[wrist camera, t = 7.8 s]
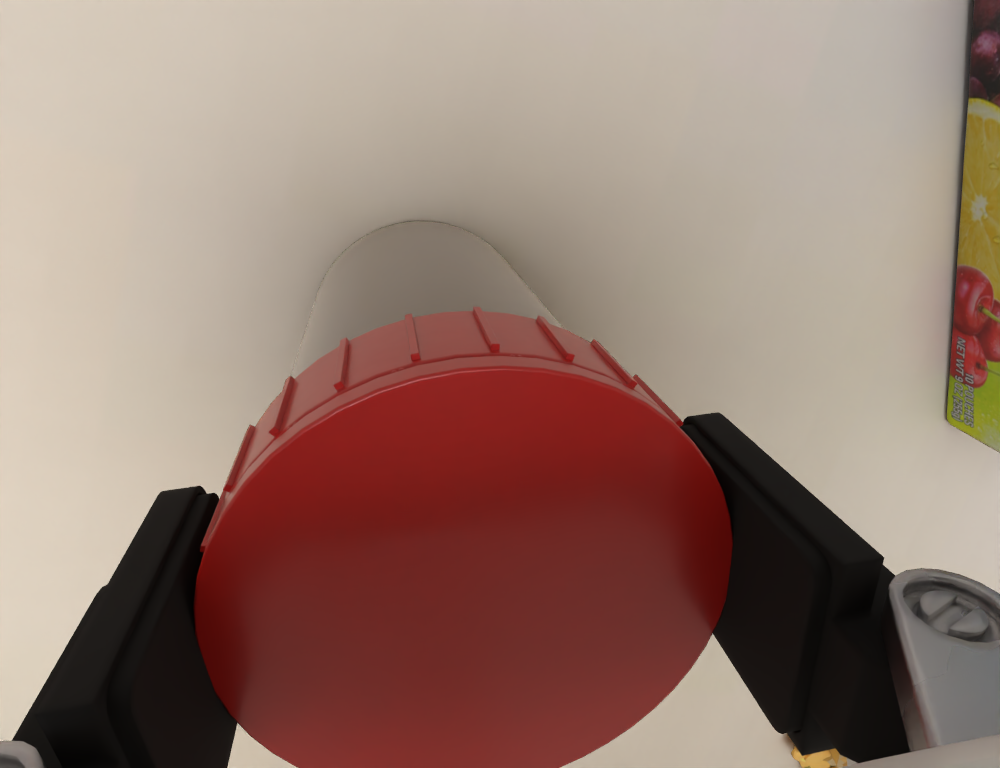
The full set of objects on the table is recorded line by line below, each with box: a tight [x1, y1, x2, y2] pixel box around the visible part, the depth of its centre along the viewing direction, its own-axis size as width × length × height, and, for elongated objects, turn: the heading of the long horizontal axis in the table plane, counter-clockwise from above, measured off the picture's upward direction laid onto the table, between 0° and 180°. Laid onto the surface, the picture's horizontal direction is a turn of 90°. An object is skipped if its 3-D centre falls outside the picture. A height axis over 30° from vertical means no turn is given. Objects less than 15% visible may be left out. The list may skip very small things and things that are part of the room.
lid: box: [193, 307, 733, 768], centre depth 10 cm, size 8×8×2 cm
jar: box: [291, 221, 564, 378], centre depth 14 cm, size 7×7×12 cm
